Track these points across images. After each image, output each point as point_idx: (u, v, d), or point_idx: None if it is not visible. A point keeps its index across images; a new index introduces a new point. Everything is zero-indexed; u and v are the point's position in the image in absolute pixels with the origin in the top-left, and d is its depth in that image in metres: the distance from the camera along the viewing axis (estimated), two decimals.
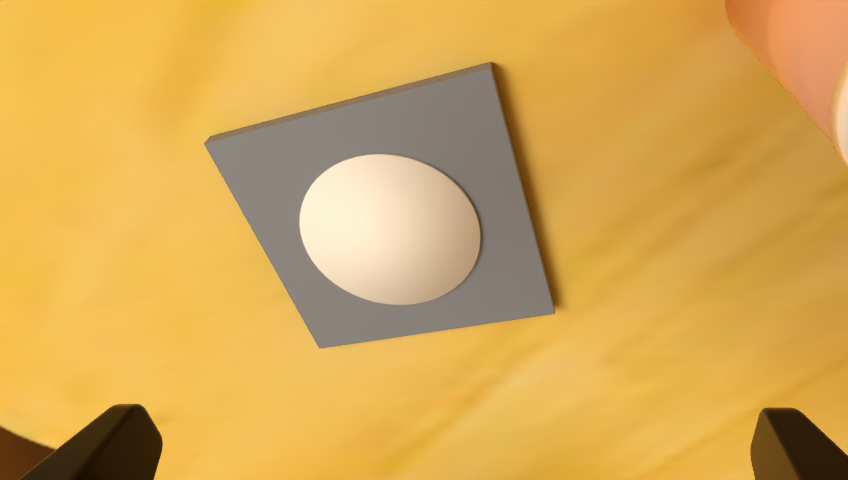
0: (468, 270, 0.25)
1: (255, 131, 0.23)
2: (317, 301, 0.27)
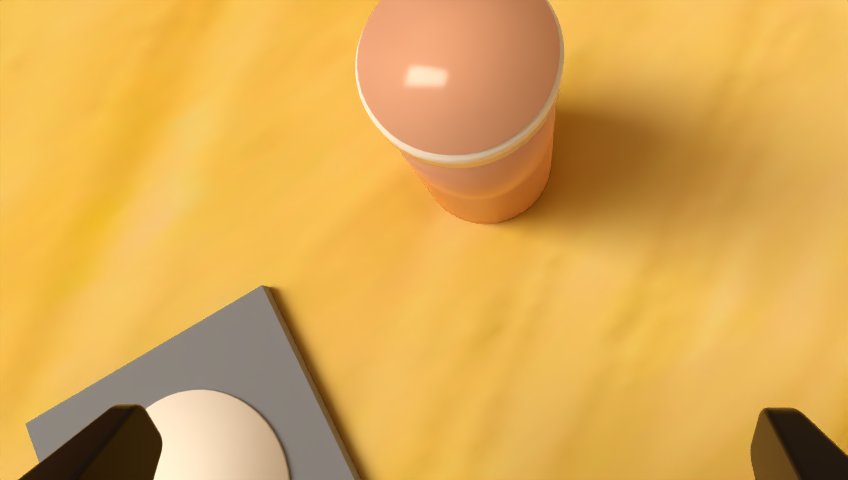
0: None
1: (71, 398, 0.24)
2: None
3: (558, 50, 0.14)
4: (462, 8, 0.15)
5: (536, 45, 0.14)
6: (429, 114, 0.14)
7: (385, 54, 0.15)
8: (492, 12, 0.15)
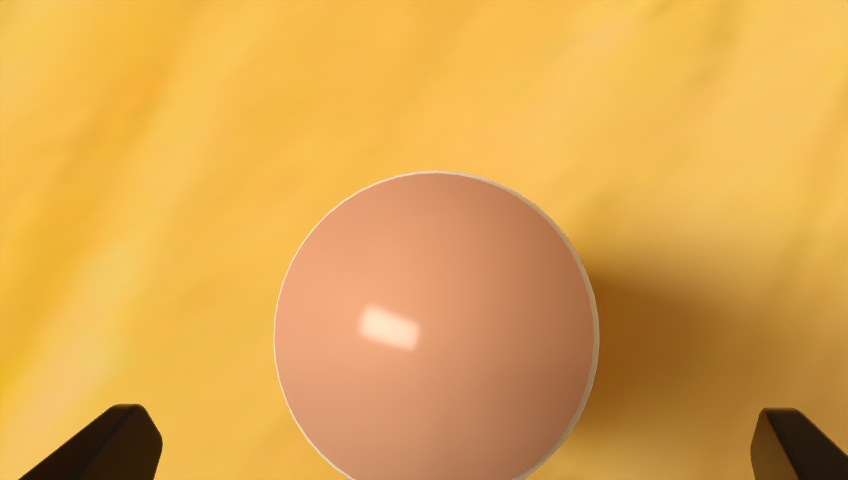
0: None
1: None
2: None
3: (591, 339, 0.09)
4: (438, 253, 0.09)
5: (555, 326, 0.09)
6: (384, 429, 0.09)
7: (318, 320, 0.10)
8: (485, 264, 0.09)
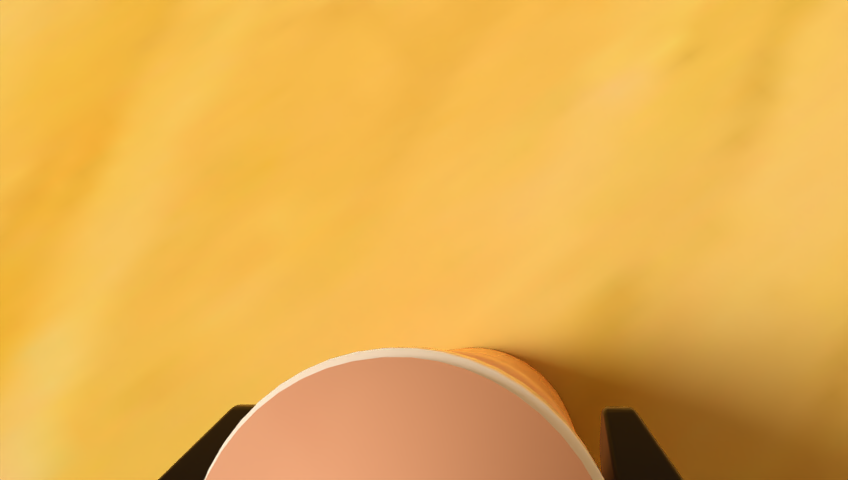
0: None
1: None
2: None
3: None
4: (408, 477, 0.07)
5: None
6: None
7: None
8: None
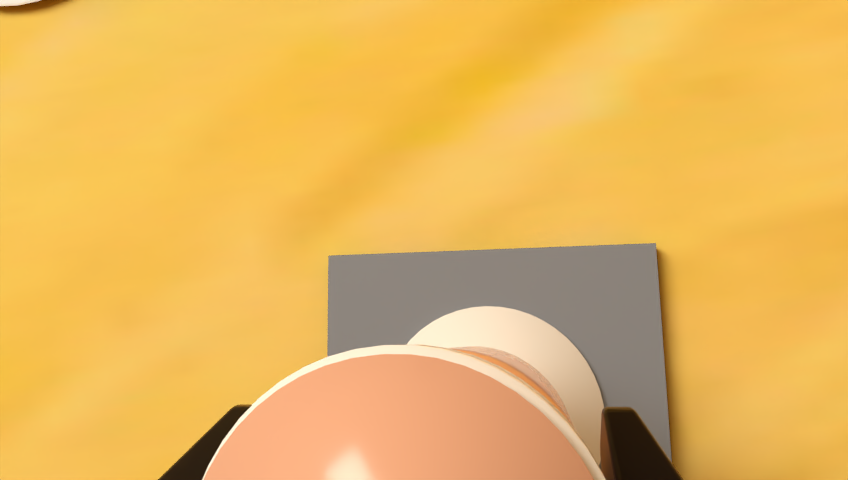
0: None
1: (389, 254, 0.21)
2: None
3: None
4: (407, 474, 0.07)
5: None
6: None
7: None
8: None
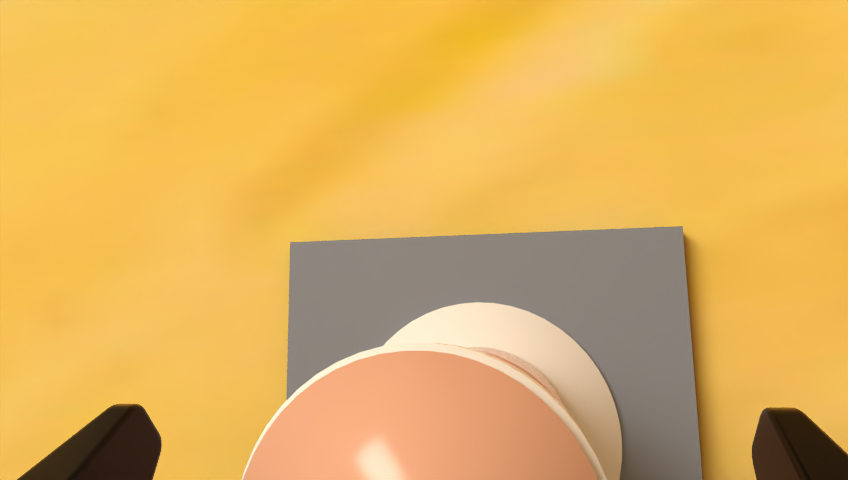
0: None
1: (361, 241, 0.18)
2: None
3: None
4: (428, 453, 0.08)
5: None
6: None
7: None
8: (484, 469, 0.08)
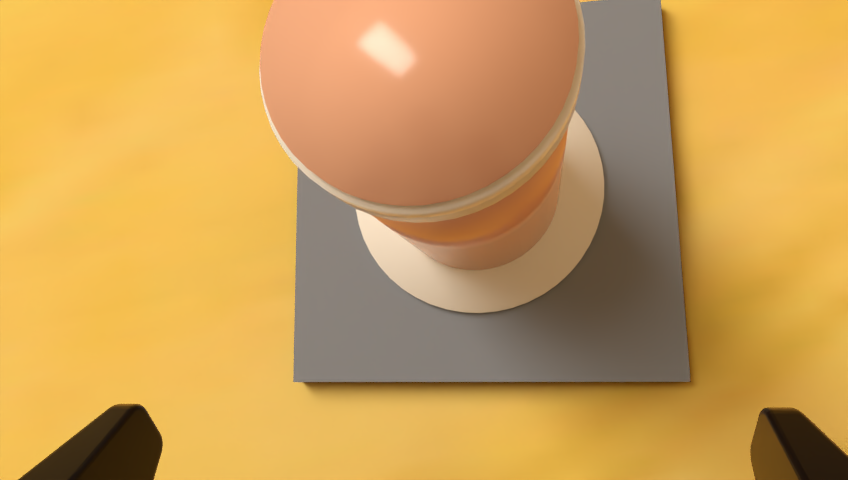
0: (572, 264, 0.17)
1: None
2: (330, 287, 0.18)
3: (576, 38, 0.09)
4: None
5: (540, 30, 0.09)
6: (369, 140, 0.09)
7: (303, 45, 0.10)
8: None
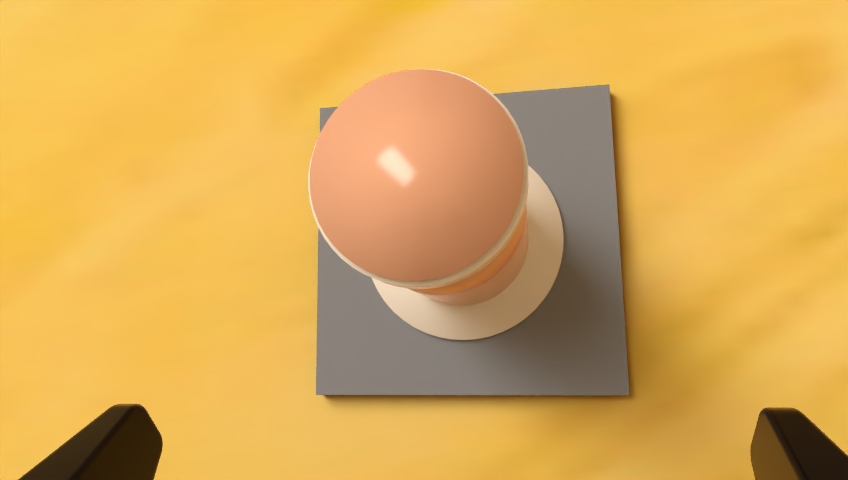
0: (538, 302, 0.22)
1: None
2: (345, 318, 0.23)
3: (521, 172, 0.13)
4: (421, 122, 0.14)
5: (498, 165, 0.13)
6: (384, 237, 0.14)
7: (339, 169, 0.14)
8: (452, 127, 0.14)
